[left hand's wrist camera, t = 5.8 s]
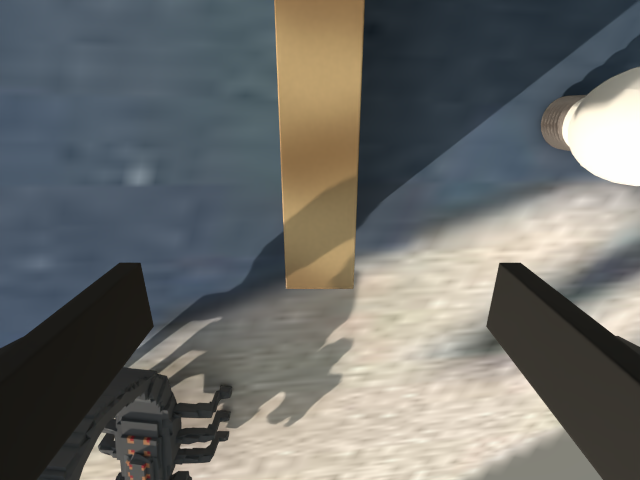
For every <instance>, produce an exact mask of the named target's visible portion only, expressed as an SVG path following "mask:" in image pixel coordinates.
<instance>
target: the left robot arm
mask: <svg viewBox="0 0 640 480" xmlns="http://www.w3.org/2000/svg"><path fill="white" fill-rule="evenodd" d="M153 327H154V326H153V321H152V316H151V311H150V306H149V301H148V297H147V292H146V287H145V282H144V277H143V273H142V268H141V263H119V264H117V265H116V266H115V267H113V268H112V269H111V270H110V271H108V272H107V273H106V274H104V275H103V276H102V277H101V278H99V279H98V280H97V281H95V282H94V283H93V284H91V285H90V286H89V287H88V288H86V289H85V290H84V291H82V292H81V293H80V294H79V295H77V296H76V297H75V298H73V299H72V300H71V301H69V302H68V303H67V304H66V305H64V306H63V307H62V308H60V309H59V310H58V311H57V312H55V313H54V314H53V315H51V316H50V317H49V318H47V319H46V320H45V321H44V322H42V323H41V324H40V325H38V326H37V327H36V328H34V329H33V330H32V331H31V332H29V333H28V334H27V335H25V336H24V337H22V338H20V339H18V340H16V341H14V342H12V343H10V344H8V345H6V346H4V347H2V348H0V480H37V479H38V478H39V476H40V475H41V474H42V472H43V471H44V470H45V468H46V467H47V466H48V464H49V463H50V462H51V460H52V459H53V458H54V457H55V455H56V454H57V453H58V451H59V450H60V449H61V447H62V446H63V445H64V443H65V442H66V441H67V439H68V438H69V437H70V436H71V434H72V433H73V432H74V430H75V429H76V428H77V426H78V425H79V424H80V422H81V421H82V420H83V418H84V417H85V416H86V415H87V413H88V412H89V411H90V409H91V408H92V407H93V405H94V404H95V403H96V401H97V400H98V399H99V397H100V396H101V395H102V394H103V392H104V391H105V390H106V388H107V387H108V386H109V384H110V383H111V382H112V380H113V379H114V378H115V376H116V375H117V374H118V373H119V371H120V370H121V369H122V367H123V366H124V365H125V363H126V362H127V361H128V359H129V358H130V357H131V355H132V354H133V353H134V352H135V350H136V349H137V348H138V346H139V345H140V344H141V342H142V341H143V340H144V338H145V337H146V336H147V334H148V333H149V332H150V331H151V329H152V328H153ZM486 327H487V328H488V329H489V331H490V332H491V333H492V334H493V336H494V337H495V338H496V340H497V341H498V342H499V344H500V345H501V346H502V348H503V349H504V350H505V352H506V353H507V354H508V355H509V357H510V358H511V359H512V361H513V362H514V363H515V365H516V366H517V367H518V369H519V370H520V371H521V373H522V374H523V375H524V376H525V378H526V379H527V380H528V382H529V383H530V384H531V386H532V387H533V388H534V390H535V391H536V392H537V394H538V395H539V396H540V397H541V399H542V400H543V401H544V403H545V404H546V405H547V407H548V408H549V409H550V411H551V412H552V413H553V415H554V416H555V417H556V418H557V420H558V421H559V422H560V424H561V425H562V426H563V428H564V429H565V430H566V432H567V433H568V434H569V436H570V437H571V438H572V439H573V441H574V442H575V443H576V445H577V446H578V447H579V449H580V450H581V451H582V453H583V454H584V455H585V457H586V458H587V459H588V460H589V462H590V463H591V464H592V466H593V467H594V468H595V470H596V471H597V472H598V474H599V475H600V476H601V477H602V479H603V480H640V347H639V346H637V345H635V344H633V343H631V342H629V341H627V340H625V339H623V338H621V337H619V336H615V335H613V334H612V333H611V332H609V331H608V330H607V329H606V328H604V327H603V326H602V325H600V324H599V323H598V322H596V321H595V320H594V319H593V318H591V317H590V316H589V315H587V314H586V313H585V312H583V311H582V310H581V309H580V308H578V307H577V306H576V305H574V304H573V303H572V302H571V301H569V300H568V299H567V298H565V297H564V296H563V295H561V294H560V293H559V292H558V291H556V290H555V289H554V288H552V287H551V286H550V285H549V284H547V283H546V282H545V281H543V280H542V279H541V278H539V277H538V276H537V275H536V274H534V273H533V272H532V271H530V270H529V269H528V268H527V267H525V266H524V265H523V264H521V263H499V268H498V273H497V277H496V282H495V287H494V292H493V297H492V301H491V306H490V311H489V316H488V321H487V326H486Z"/></svg>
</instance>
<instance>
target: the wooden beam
mask: <svg viewBox="0 0 640 480" xmlns="http://www.w3.org/2000/svg"><path fill="white" fill-rule="evenodd" d="M274 2H275V26H276V51H277V76H278V100H279V125H280V150H281V174H282V199H283V224H284V248H285V273H286V288H287V289H353V286H354V261H355V235H356V210H357V185H358V160H359V134H360V109H361V84H362V58H363V33H364V8H365V0H274Z"/></svg>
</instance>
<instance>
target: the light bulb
mask: <svg viewBox="0 0 640 480" xmlns="http://www.w3.org/2000/svg"><path fill="white" fill-rule="evenodd" d="M541 131H542V134H543V137H544V139H545V140H546V141H547V143H549V144H550V145H551V146H553V147H555V148H557V149H562V150H568V151H571V152H572V154H573V155H574V157H575V158H576V159H577V161H578V162H579V163H580V164H581V166H583V167H584V168H585V169H587V170H588V171H590V172H591V173H593V174H594V175H596V176H598V177H601V178H603V179H606V180H608V181H611V182H615V183H620V184H627V185H633V186H640V67H637V68H633V69H630V70H628V71H626V72H623V73H621V74H619V75H616V76H614V77H612V78H610V79H608V80H607V81H605V82H604V83H602V84H600V85H599V86H598V87H596V88H595V89H593V90H592V91H591V92H590V93H589V94H588V95H576V96H565V97H561V98H559V99H557V100H555V101H554V102H552V103H551V104H550V105H549V106H548V108H547V109H546V110H545V112H544V114H543V117H542V121H541Z"/></svg>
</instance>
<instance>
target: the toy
mask: <svg viewBox="0 0 640 480" xmlns="http://www.w3.org/2000/svg"><path fill="white" fill-rule="evenodd" d="M231 393H232V387H229V386H221V387H220V391H217V392H216V393H215V395H214V398H213V400H212V402H210V403H198V404H187V403H178V404H177V402H176V399H175V397H174V394H173V392H172V391H171V388H170V385H169V382H168V378H167V376H164V375H161V374H157V372H156V371H150V370H141V369H131V368H123V367H122V369H121V370H120V371H119V373H118V374H117V375H116V376H115V378H114V379H113V380H112V382H111V383H110V384H109V386H108V387H107V388H106V390H105V391H104V392H103V394H102V395H101V396H100V397H99V399H98V400H97V401H96V403H95V404H94V405H93V407H92V408H91V409H90V411H89V412H88V413H87V415H86V416H85V417H84V418H83V420H82V421H81V422H80V424H79V425H78V426H77V428H76V429H75V430H74V432H73V433H72V434H71V436H70V437H69V438H68V439H67V441H66V442H65V443H64V445H63V446H62V447H61V449H60V450H59V451H58V453H57V454H56V455H55V457H54V458H53V459H52V460H51V462H50V463H49V464H48V466H47V467H46V468H45V470H44V471H43V472H42V474H41V475H40V476H39V478H38V479H37V480H79V479H80V476H81V473H82V470H83V467H84V465H85V463H86V461H87V459H88V457H89V455H90V453H91V451H92V449H93V447H94V445H95V443H96V441H97V439H98V437H99V435H100V434H101V432H103V433H106V435H105V436H104V438H103V439H102V441H101V442H100V444H99V445H98V448H99V451H100V452H102V453H104V454H107V455H111V456H112V457H113V458H117V460H120V463H121V472H120V473H119V474H118V476H117V477H116V480H192V477H190V476H189V471H178V472H176V473H175V474H173V475H172V473H173V470H174V468H175V464H181V465H182V463H206V462H210V461H211V459H212V457H213V456H214V453H215V451H216V448H217V445H218V443H219V442H220V441H226V440H228V437H229V431H217V429H218V426H219V423H220V422H223V421H228V420H229V418H230V412H227V411H218V410H217V411H216V409H217V405H218V402H219V401H220V400H221V399H225V398H230V397H231ZM213 412H216V414H215V417H214V420H213V423H212V424H209V426H208V428H185V429H181V417H186V418H212V415H213ZM115 416H116V419H113V418H114V417H115ZM114 438H115V441H114ZM210 440H212V442H211V444H210V445H209V446H208V447H207V448H193V449H180V445H181V444H191V443H195V442H207V441H210Z"/></svg>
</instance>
